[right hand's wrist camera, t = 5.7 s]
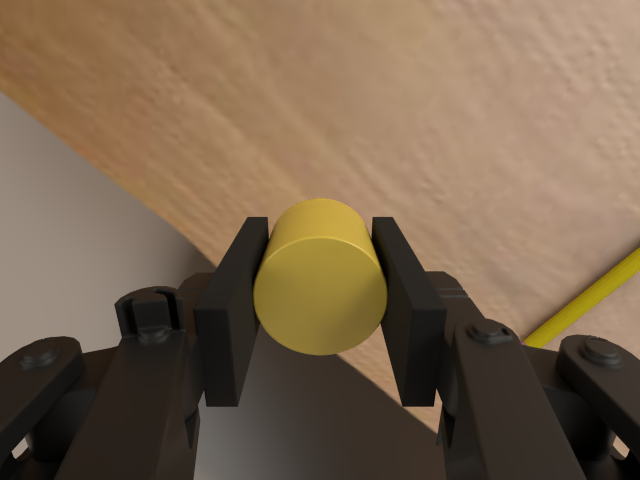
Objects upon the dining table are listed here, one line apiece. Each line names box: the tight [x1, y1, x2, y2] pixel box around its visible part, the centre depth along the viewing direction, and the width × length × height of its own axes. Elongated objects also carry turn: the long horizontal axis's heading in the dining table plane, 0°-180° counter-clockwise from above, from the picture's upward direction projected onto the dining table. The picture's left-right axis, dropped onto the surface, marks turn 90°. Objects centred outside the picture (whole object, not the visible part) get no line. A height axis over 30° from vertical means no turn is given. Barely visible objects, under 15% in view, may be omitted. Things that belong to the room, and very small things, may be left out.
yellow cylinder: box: [253, 199, 388, 355], centre depth 13 cm, size 4×4×4 cm
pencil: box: [521, 247, 640, 348], centre depth 23 cm, size 16×1×1 cm, turn 140°
